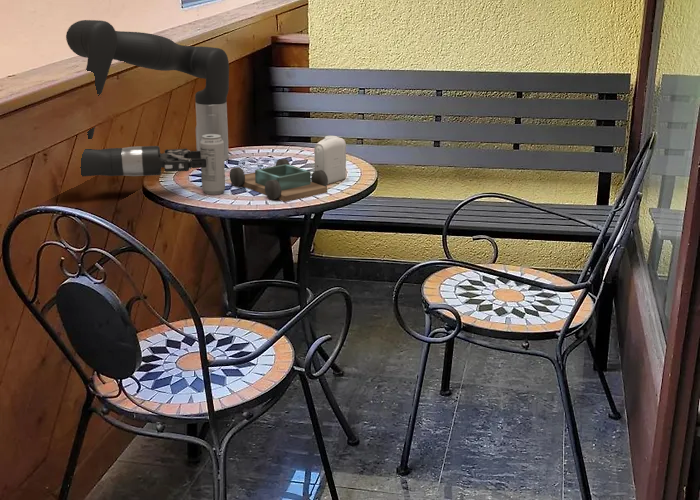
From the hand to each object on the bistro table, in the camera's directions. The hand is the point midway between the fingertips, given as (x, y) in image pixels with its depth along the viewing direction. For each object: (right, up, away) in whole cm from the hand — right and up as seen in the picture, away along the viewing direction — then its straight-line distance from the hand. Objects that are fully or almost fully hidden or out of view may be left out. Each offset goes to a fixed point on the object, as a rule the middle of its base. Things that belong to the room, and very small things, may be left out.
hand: (205, 158), depth 210 cm
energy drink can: (+2, -9, +3) cm, 9 cm away
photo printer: (+32, -5, +15) cm, 36 cm away
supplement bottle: (+32, 0, +28) cm, 43 cm away
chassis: (+18, -7, +9) cm, 21 cm away
